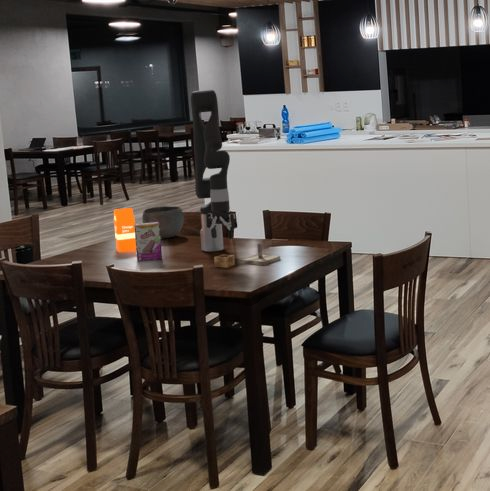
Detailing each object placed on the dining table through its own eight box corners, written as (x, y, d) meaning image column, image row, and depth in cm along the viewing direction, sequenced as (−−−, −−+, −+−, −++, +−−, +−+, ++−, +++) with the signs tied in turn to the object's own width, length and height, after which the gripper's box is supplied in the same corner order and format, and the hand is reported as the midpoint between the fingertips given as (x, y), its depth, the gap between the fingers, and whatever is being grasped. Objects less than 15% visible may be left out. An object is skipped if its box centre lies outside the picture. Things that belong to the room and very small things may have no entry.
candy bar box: (137, 262, 379) (134, 225, 376) (137, 260, 384) (133, 223, 381) (162, 259, 381) (159, 223, 378) (162, 257, 386) (158, 221, 383)
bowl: (156, 233, 449) (153, 205, 446) (192, 233, 441) (190, 205, 438) (136, 241, 430) (133, 211, 427) (174, 241, 422) (171, 211, 419)
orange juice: (116, 249, 412) (112, 208, 408) (134, 247, 414) (130, 206, 410) (119, 252, 404) (115, 210, 401) (137, 250, 407) (133, 208, 403)
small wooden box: (214, 266, 359) (214, 257, 358) (223, 263, 364) (222, 254, 363) (226, 267, 355) (225, 258, 355) (234, 264, 360) (234, 255, 359)
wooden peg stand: (240, 263, 362) (239, 244, 360) (257, 257, 371) (255, 239, 370) (264, 265, 355) (263, 246, 353) (280, 259, 364) (279, 241, 363)
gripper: (200, 200, 355) (203, 239, 358) (228, 201, 347) (231, 240, 350) (211, 198, 361) (214, 236, 364) (239, 198, 353) (241, 237, 356)
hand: (222, 238), depth 357 cm, fingers open, 8 cm apart
